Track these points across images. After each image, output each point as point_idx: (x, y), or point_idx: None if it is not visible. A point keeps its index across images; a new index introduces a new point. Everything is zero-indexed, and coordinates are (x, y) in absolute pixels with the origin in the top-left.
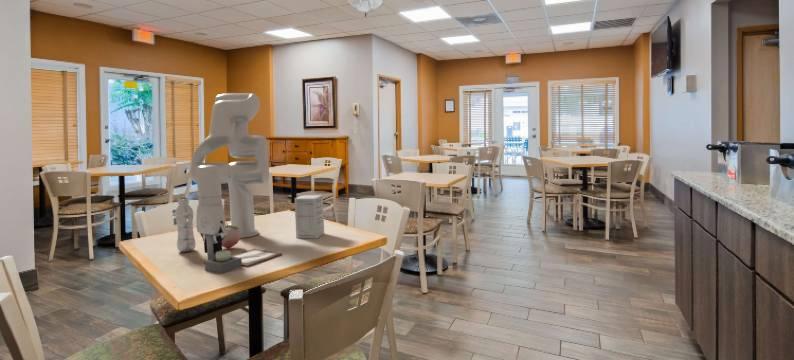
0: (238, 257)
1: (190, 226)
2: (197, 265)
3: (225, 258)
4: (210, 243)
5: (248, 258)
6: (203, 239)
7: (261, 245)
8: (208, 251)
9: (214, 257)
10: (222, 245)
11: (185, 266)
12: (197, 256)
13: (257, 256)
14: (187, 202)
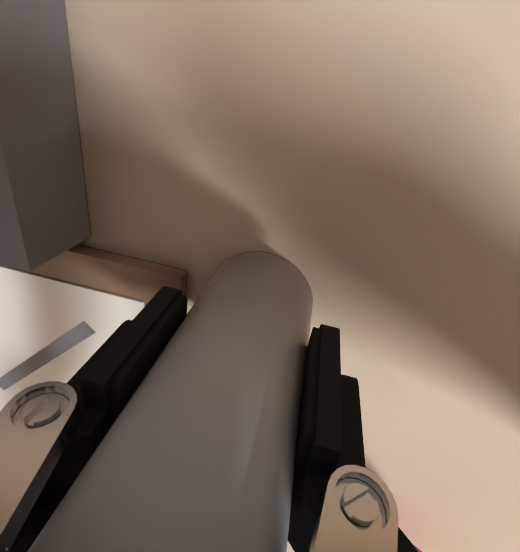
0: (89, 351)
1: None
2: (291, 104)
3: None
4: (162, 389)
5: (12, 341)
6: (371, 509)
7: None
8: (246, 309)
9: (208, 283)
10: None
11: (422, 3)
12: (505, 365)
13: (9, 382)
14: None
